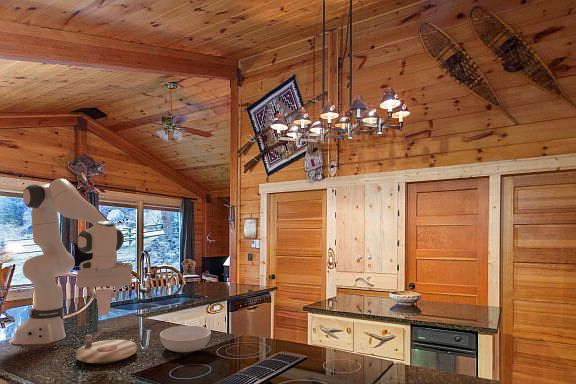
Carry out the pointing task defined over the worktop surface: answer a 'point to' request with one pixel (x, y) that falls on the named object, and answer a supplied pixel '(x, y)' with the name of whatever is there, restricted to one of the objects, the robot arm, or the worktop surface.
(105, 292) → the smoothie
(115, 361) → the turntable base
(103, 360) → the round wooden board
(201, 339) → the serving bowl
